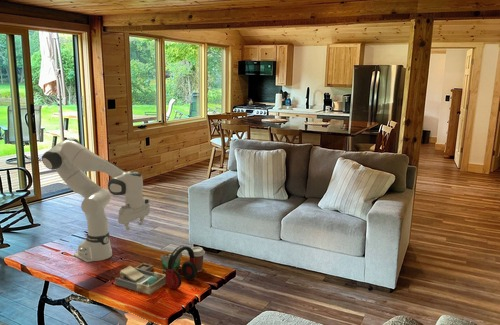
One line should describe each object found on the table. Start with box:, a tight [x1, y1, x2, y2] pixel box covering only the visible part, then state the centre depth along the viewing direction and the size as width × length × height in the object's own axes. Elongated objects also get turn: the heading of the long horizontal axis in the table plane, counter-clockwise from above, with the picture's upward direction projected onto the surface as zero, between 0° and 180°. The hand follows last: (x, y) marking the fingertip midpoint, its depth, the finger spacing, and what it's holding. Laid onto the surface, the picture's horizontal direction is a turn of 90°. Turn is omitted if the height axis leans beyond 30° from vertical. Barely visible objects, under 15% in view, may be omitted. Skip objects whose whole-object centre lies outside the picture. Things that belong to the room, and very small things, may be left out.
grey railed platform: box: [114, 267, 154, 292], centre depth 204 cm, size 14×14×3 cm
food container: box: [159, 252, 183, 274], centre depth 216 cm, size 12×6×10 cm, turn 123°
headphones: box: [164, 245, 198, 290], centre depth 202 cm, size 18×10×20 cm, turn 147°
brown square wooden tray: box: [134, 262, 154, 272], centre depth 218 cm, size 7×7×2 cm
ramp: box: [119, 265, 144, 282], centre depth 205 cm, size 10×7×4 cm
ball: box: [147, 276, 158, 286], centre depth 199 cm, size 5×5×5 cm
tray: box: [136, 271, 167, 296], centre depth 200 cm, size 8×14×4 cm, turn 154°
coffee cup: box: [190, 246, 206, 273], centre depth 219 cm, size 9×9×12 cm
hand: (134, 227), depth 210 cm, fingers open, 8 cm apart
